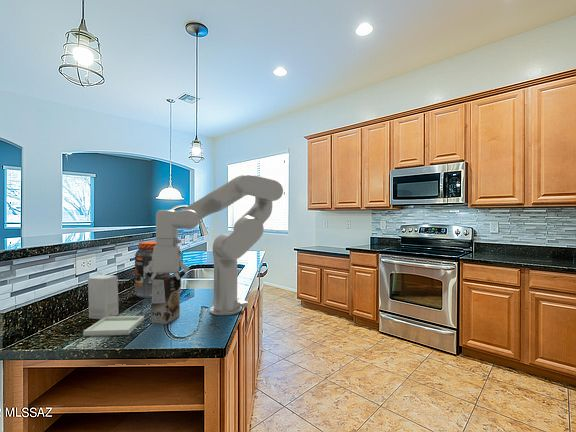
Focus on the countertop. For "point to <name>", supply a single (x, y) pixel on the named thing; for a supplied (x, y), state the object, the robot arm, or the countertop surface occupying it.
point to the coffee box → (165, 299)
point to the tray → (114, 326)
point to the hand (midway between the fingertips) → (166, 289)
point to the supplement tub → (141, 278)
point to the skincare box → (103, 296)
